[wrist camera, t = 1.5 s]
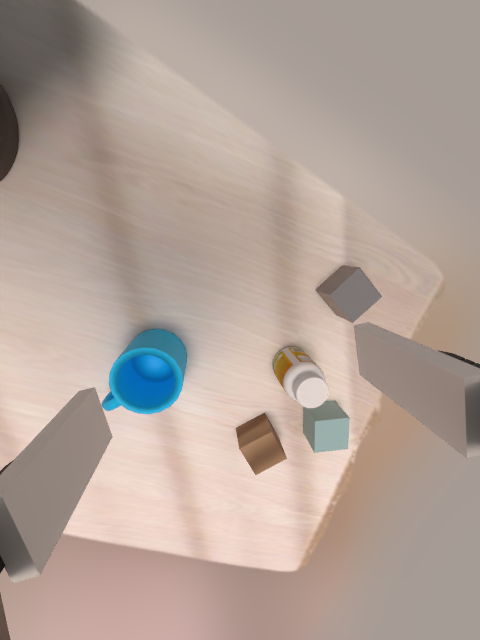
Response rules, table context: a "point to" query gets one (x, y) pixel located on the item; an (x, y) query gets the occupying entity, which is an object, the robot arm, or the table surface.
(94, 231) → the table surface
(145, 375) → the mug
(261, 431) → the walnut cube
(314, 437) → the teal cube
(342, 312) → the charcoal cube
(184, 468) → the table surface
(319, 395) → the supplement bottle
